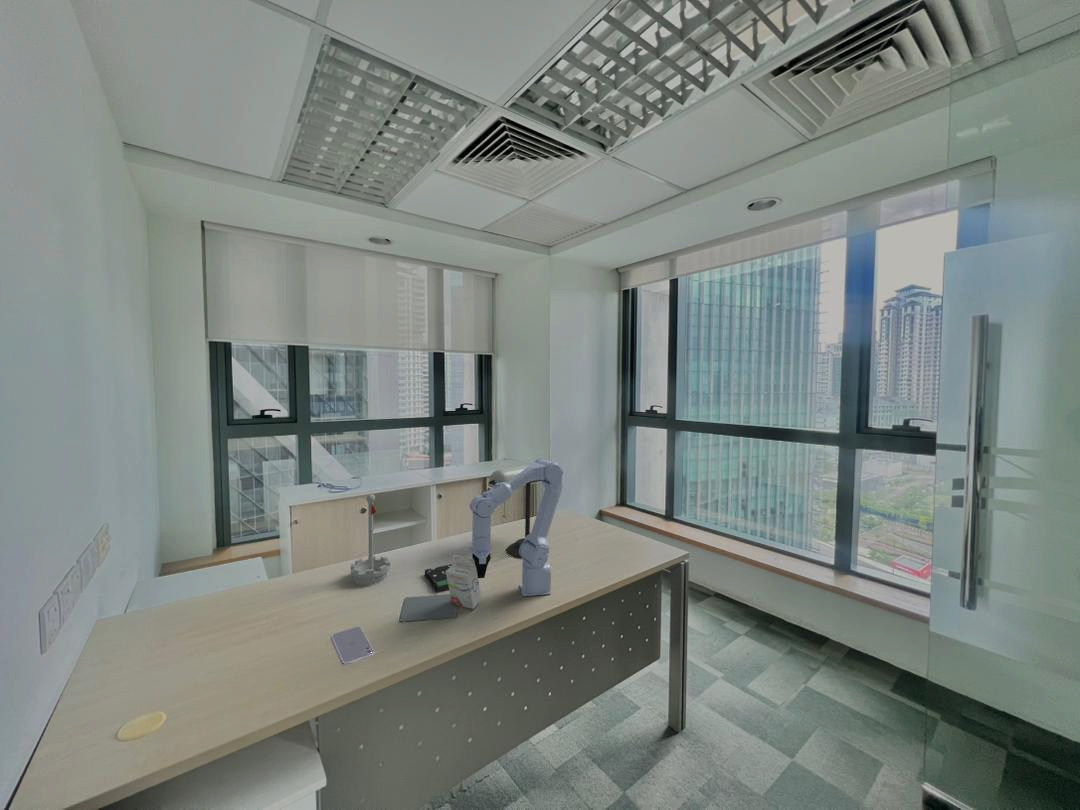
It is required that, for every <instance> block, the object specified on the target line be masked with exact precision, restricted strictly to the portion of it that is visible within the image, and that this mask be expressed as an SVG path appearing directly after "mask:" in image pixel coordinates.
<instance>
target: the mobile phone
mask: <svg viewBox="0 0 1080 810" xmlns="http://www.w3.org/2000/svg"><path fill="white" fill-rule="evenodd" d="M331 639H332V642H333V644H334V647H335V649H336V650H337V653H339V654H338V656H339V658H341V659H340V661H341V660H342V661H341V662H343V663H349V662H353V661H355V660H356V662H358V661H357V660H359V659H361V660H363V659H362V658H364V659H366V658H365V657H367V658H369V657H368V656H370V657H372V656H373V654H375V651H374V649H373V647H372V645H371V643H370V641H369V640H368V638H367V636H366V634H365V633H364V631H363V629H362V628H361V627H360V626H355V627H352V628H350V629H346V630H342V631H339V632H336V633H334V634H332V636H331ZM371 655H372V656H371ZM359 661H360V660H359ZM343 663H342V664H343ZM353 663H354V662H353Z"/></svg>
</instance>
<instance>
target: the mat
mask: <svg viewBox="0 0 1080 810" xmlns="http://www.w3.org/2000/svg"><path fill="white" fill-rule="evenodd" d="M399 618H400V619H399V623H408V622H409V623H411V622H419V621H420V622H421V621H433V620H442V619H443V620H444V619H445V620H446V619H454V618H455V619H456V618H457V605H456V604H452V602H451V597H450V593H449V594H448V593H447V594H435V595H422V596H421V595H420V596H409V597H408V596H406V597H405V598H404V601H403V605H402V611H401V614H400V617H399Z"/></svg>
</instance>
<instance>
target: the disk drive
mask: <svg viewBox="0 0 1080 810" xmlns="http://www.w3.org/2000/svg"><path fill="white" fill-rule="evenodd" d="M452 565H453V563H450V564H446V565H441V566H436V567H435V568H434V569H432V568H427V569H424V577H425V576H426V577H425V578H426V579H427V580H429V581H428V582H429V584H430V585H431V586H432V587H433V589H434V590H435V592H437V593H442V592H446V591H449V586H448V581H447V575H446V571H447V570H448V569H449V568H450V567H451V566H452Z"/></svg>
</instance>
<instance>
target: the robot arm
mask: <svg viewBox="0 0 1080 810" xmlns="http://www.w3.org/2000/svg"><path fill="white" fill-rule="evenodd" d="M528 465H529V466H528V467H527V468H526V469H525V470H523V471H522V472H521V473H519V474H518V475H517V476H515V477H514V478H513V479H511V480H510V481H509V482H507V483H504V482H501V483H496V484H495V487H493V488H492V487H491V488H490V489H489V490H487V491H483V492H482V495H481V494H478V495H475V496H474V497H473V498H472V500H471V502H470V503H469V508H470V510H471V512H472V526H471V527H472V529H471V530H472V531H471V532H472V533H471V534H472V535H471V536H472V537H471V540H472V542H471V543H472V545H471V547H469V548H468V553H471V558H473V559H474V562H475V566H476V569H477V575H478V579H484V578H485V576H486V573H487V569H488V565H489V563H490V561H491V559H492V558H491V552H492V547H491V545H492V543H491V542H492V541H491V539H492V538H491V537H492V536H491V534H492V515H493V514H494V512H495V509H496V508H498V507H499V506H500V505H502V504H504V502H505V503H506V501H508V500H509V499H510V498H512V495H513V492H515V491H516V490H518V489H519V488H521V487H524V486H523V485H524V484H526V483H528V482H530V481H531V480H541V481H540V482H541V483H542V485H543V486H544V489H545V490H544V492H543V494H542V498H541V501H540V504H539V507H538V511H537V513H536V516H535V520H534V523H533V526H532V529H531V531H530V534H529V535H527V536H526V538H525V537H524V538H525V540H524V542H523V543H522V544H521V546H520V548H519V554H520V556H521V557H522V559H521V560H522V567H521V569H522V570H521V573H522V574H521V576H522V577H521V583H519V588H520V591H521V595H522V597H530V596H531V597H533V596H541V595H542V596H543V595H551V594H552V591H551V590H552V588H551V587H552V586H551V583H552V571H551V565H550V563H549V562H548V559H549V552H548V550H549V548H550V546H549V543H548V540H547V537H548V535H549V531H550V528H551V525H552V522H553V519H554V515H555V512H556V510H557V506H558V503H559V500H560V497H561V493H562V490H563V475H564V470H563V469H562V466H561V465H560V464H559V462H555V461H550V460H547V459H545V458H543V457H541V458H537V459H536V460H535V461H531V462H530V464H528Z"/></svg>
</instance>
